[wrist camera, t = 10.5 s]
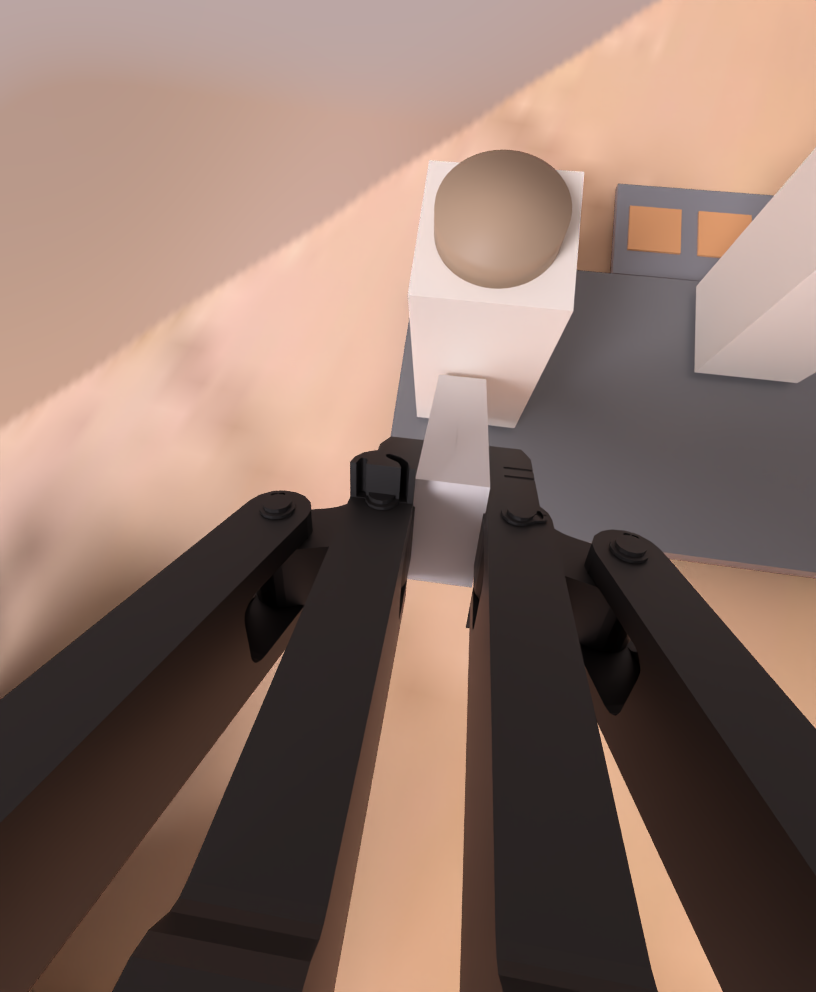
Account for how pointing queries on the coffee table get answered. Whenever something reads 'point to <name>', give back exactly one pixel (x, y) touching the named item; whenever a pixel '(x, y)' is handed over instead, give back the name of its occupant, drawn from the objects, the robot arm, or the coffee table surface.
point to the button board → (663, 404)
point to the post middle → (764, 292)
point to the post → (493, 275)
